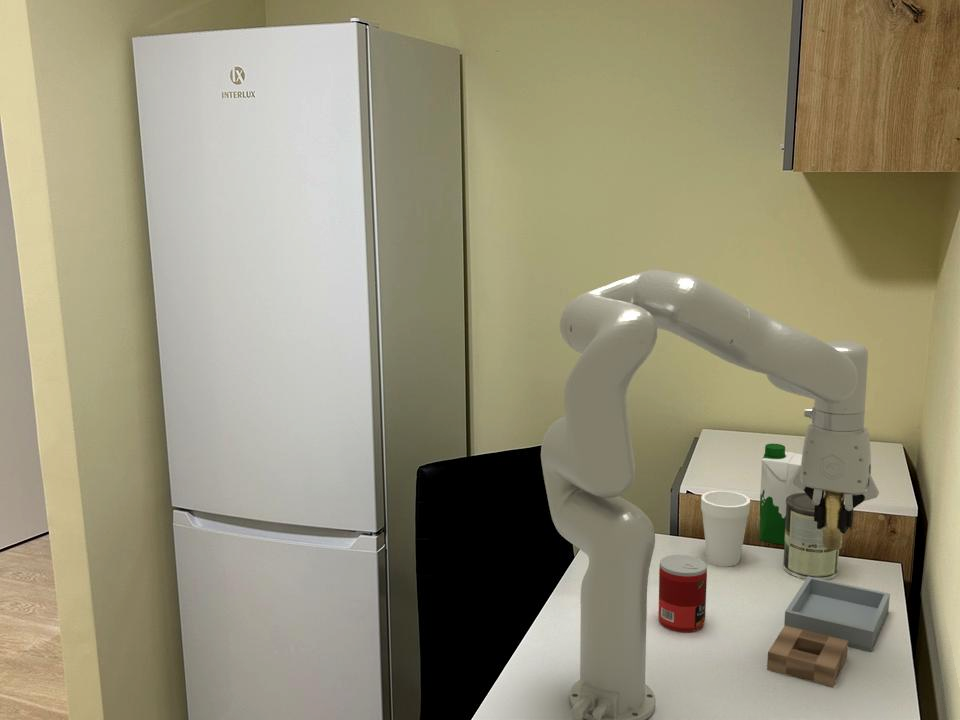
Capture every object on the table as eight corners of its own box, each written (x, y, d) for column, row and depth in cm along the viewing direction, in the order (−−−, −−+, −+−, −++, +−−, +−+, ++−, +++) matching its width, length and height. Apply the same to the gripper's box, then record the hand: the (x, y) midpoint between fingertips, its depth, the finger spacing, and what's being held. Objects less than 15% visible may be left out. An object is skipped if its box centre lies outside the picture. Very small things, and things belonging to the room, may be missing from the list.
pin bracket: (833, 687, 142) (834, 669, 141) (767, 669, 147) (767, 651, 146) (847, 657, 150) (848, 640, 149) (783, 641, 155) (784, 625, 155)
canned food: (705, 634, 158) (708, 574, 156) (657, 630, 160) (659, 571, 157) (704, 613, 165) (706, 555, 163) (658, 610, 167) (659, 552, 165)
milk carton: (763, 527, 204) (768, 439, 200) (807, 534, 200) (812, 444, 195) (754, 541, 196) (758, 450, 192) (799, 549, 192) (804, 456, 188)
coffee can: (772, 562, 186) (775, 495, 183) (817, 556, 189) (821, 489, 186) (802, 584, 176) (806, 513, 173) (849, 577, 179) (854, 507, 176)
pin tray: (871, 651, 152) (873, 631, 151) (784, 630, 159) (785, 611, 158) (888, 611, 165) (889, 593, 164) (806, 593, 172) (807, 576, 172)
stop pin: (839, 551, 150) (842, 492, 148) (820, 547, 152) (823, 489, 150) (843, 544, 153) (846, 486, 151) (824, 541, 154) (827, 483, 152)
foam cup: (691, 552, 191) (693, 492, 189) (734, 548, 193) (736, 488, 190) (711, 571, 182) (713, 508, 180) (755, 567, 184) (758, 505, 181)
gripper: (779, 418, 149) (775, 526, 153) (889, 432, 140) (882, 546, 144) (792, 407, 155) (788, 512, 159) (898, 420, 147) (891, 530, 150)
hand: (832, 527), depth 152 cm, fingers closed on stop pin, 3 cm apart
